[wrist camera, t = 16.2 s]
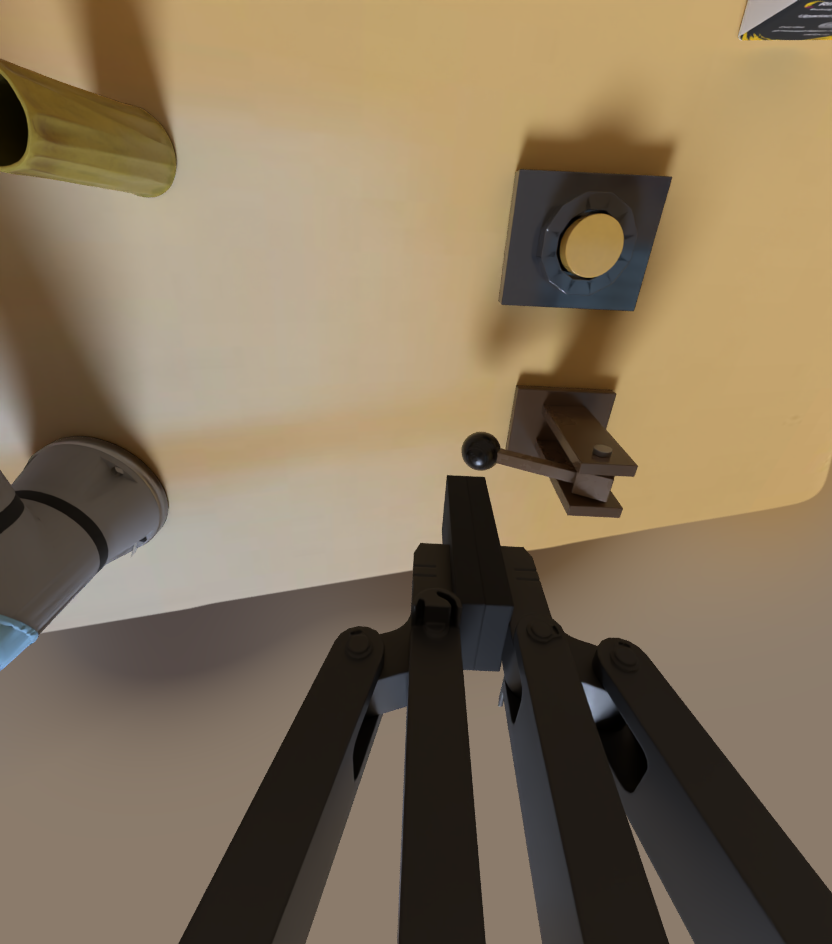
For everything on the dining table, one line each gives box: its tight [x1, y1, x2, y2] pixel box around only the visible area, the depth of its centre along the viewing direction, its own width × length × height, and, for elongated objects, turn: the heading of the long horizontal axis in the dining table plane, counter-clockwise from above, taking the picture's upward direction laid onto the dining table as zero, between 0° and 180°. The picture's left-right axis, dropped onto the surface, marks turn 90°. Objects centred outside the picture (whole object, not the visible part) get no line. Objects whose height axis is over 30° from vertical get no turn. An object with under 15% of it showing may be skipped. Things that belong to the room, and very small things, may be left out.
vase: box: [0, 59, 176, 197], centre depth 28 cm, size 6×6×14 cm
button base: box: [498, 169, 672, 311], centre depth 35 cm, size 12×10×4 cm
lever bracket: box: [506, 385, 638, 518], centre depth 40 cm, size 10×8×14 cm
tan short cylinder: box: [560, 213, 624, 278], centre depth 33 cm, size 4×4×2 cm
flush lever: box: [462, 432, 615, 502], centre depth 37 cm, size 13×4×4 cm, turn 88°
